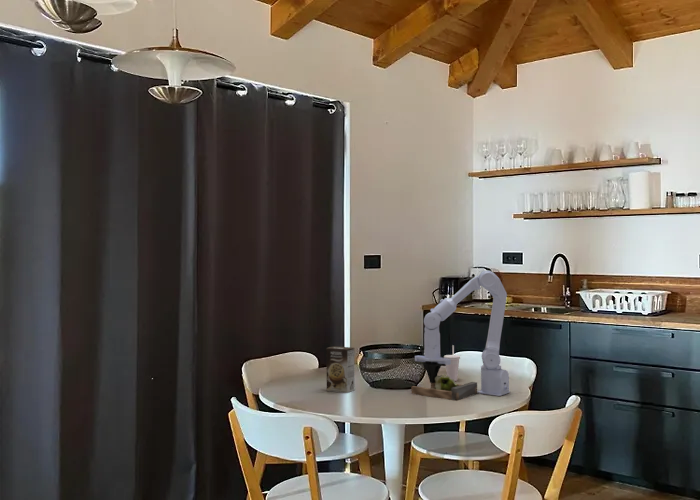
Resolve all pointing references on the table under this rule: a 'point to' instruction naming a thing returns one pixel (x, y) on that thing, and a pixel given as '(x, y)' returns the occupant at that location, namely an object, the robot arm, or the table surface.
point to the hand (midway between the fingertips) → (432, 382)
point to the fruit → (444, 383)
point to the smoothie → (452, 365)
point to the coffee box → (340, 369)
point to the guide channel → (454, 394)
